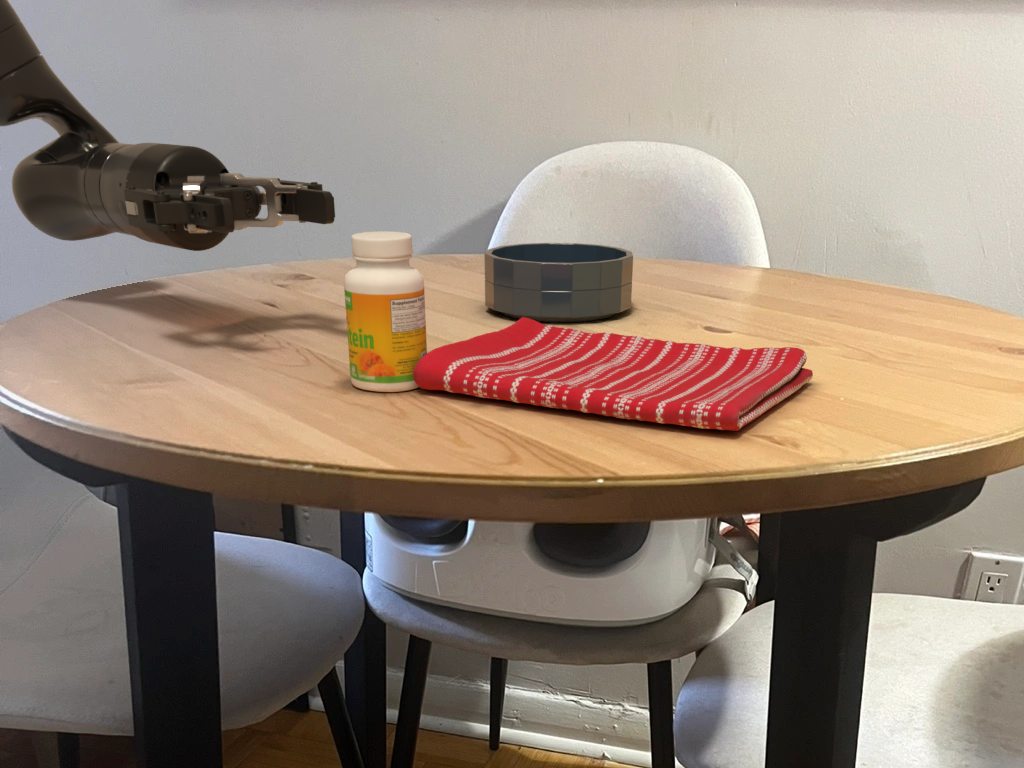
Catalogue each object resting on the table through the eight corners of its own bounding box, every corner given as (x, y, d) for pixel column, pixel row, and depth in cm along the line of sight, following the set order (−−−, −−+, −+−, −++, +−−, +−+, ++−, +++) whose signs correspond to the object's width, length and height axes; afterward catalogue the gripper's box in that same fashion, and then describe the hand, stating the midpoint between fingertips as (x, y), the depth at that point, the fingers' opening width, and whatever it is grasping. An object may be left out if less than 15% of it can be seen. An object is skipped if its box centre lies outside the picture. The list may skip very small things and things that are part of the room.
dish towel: (523, 347, 92) (523, 313, 90) (815, 382, 82) (819, 344, 81) (403, 394, 78) (401, 354, 77) (733, 442, 69) (737, 397, 68)
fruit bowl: (597, 330, 98) (599, 267, 96) (460, 316, 103) (459, 256, 100) (650, 305, 108) (653, 248, 106) (524, 294, 113) (524, 239, 111)
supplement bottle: (336, 382, 81) (324, 234, 76) (399, 371, 84) (391, 227, 79) (379, 397, 78) (369, 242, 73) (443, 385, 81) (438, 235, 76)
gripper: (74, 146, 87) (185, 158, 77) (238, 141, 95) (357, 150, 85) (92, 253, 90) (200, 277, 80) (249, 238, 99) (364, 258, 89)
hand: (281, 212), depth 83 cm, fingers open, 8 cm apart
